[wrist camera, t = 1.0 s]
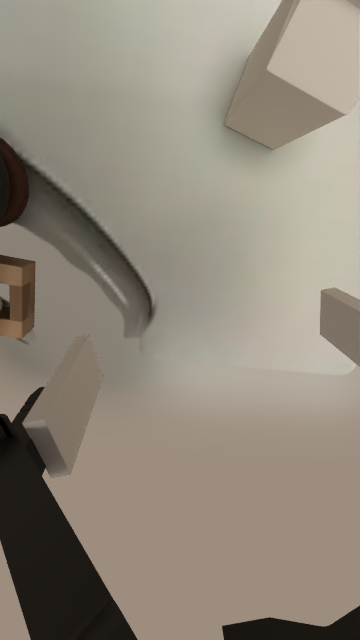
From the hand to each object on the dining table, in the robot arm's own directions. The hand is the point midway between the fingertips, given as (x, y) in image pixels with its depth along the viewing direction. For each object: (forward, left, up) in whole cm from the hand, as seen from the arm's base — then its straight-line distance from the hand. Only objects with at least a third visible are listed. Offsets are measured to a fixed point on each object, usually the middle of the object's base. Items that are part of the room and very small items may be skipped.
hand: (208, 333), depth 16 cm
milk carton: (-12, +16, -26) cm, 33 cm away
